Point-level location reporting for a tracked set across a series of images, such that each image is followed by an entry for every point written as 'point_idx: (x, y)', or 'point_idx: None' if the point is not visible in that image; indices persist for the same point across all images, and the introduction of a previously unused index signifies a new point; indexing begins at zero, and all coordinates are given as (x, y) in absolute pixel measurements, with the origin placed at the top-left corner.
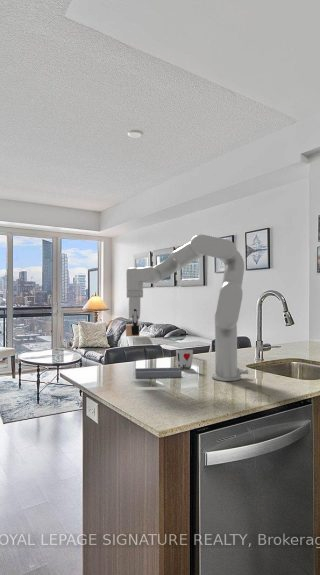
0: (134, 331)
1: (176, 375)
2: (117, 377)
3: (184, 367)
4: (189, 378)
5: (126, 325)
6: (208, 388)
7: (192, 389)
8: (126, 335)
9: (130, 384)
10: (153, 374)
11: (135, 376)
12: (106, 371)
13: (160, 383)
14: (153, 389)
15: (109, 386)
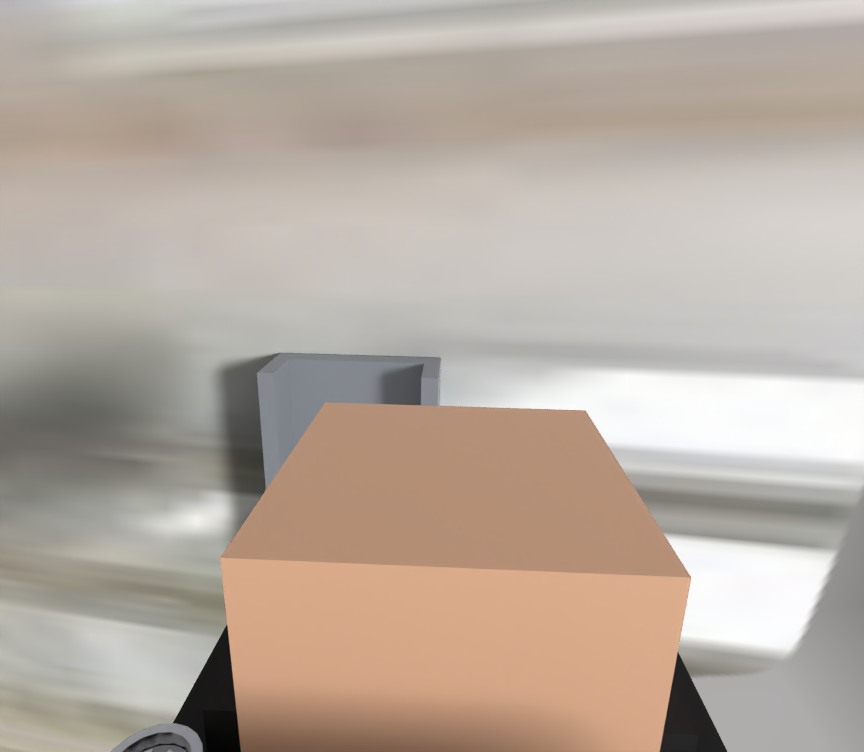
0: (228, 647)
1: None
2: (429, 198)
3: None
4: None
5: (223, 571)
6: (69, 739)
7: (39, 664)
8: (319, 419)
9: (158, 309)
10: None
11: (333, 360)
12: (753, 67)
13: (191, 517)
14: (18, 457)
15: (84, 135)
